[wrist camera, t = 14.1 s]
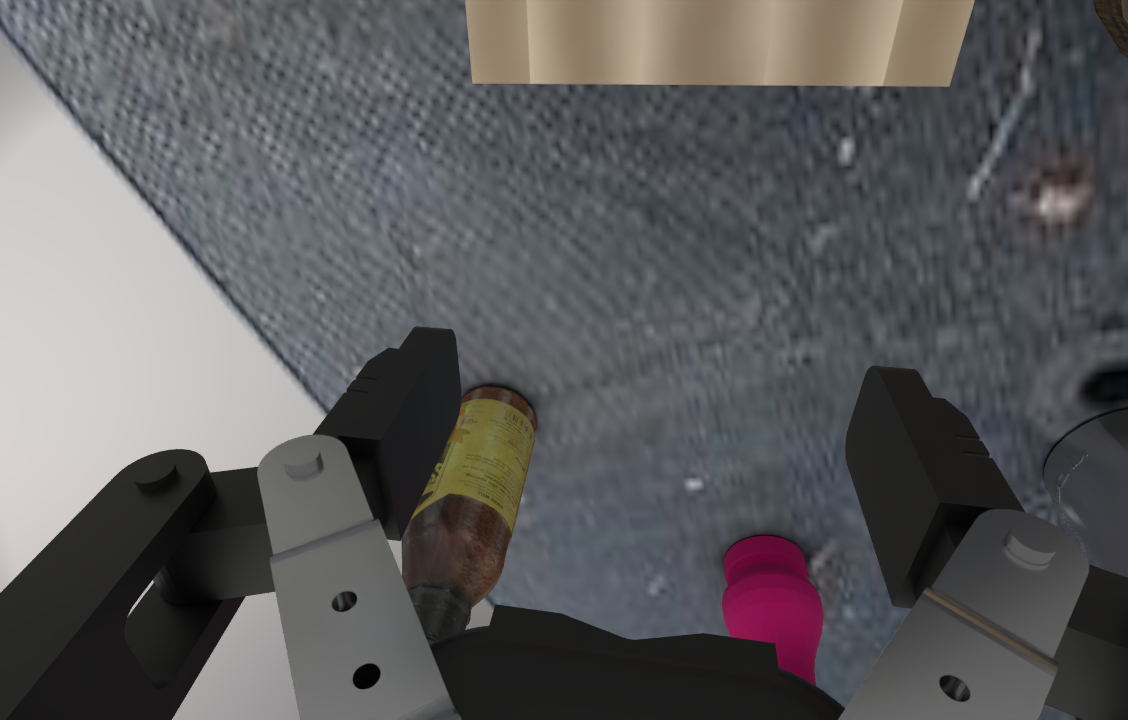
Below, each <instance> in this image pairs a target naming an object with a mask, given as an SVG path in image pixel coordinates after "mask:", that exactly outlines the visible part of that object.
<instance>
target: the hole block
mask: <svg viewBox="0 0 1128 720" xmlns="http://www.w3.org/2000/svg"><path fill="white" fill-rule="evenodd" d="M974 1H975V0H465V4H466V15H467V26H468V37H469V49H470V60H471V71H472V82H473V83H481V84H636V85H791V86H946V87H949V86H950V82H951V79H952V76H953V72H954V69H955V66H956V62H957V59H958V55H959V52H960V49H961V45H962V42H963V39H964V35H965V32H966V28H967V25H968V22H969V18H970V15H971V12H972V8H973V5H974Z"/></svg>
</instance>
